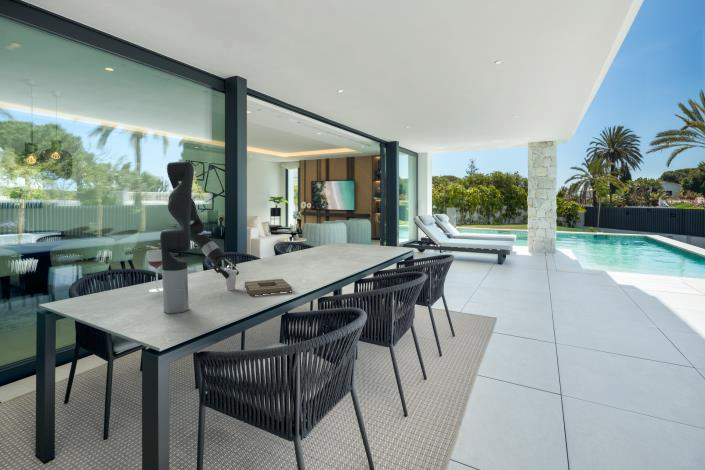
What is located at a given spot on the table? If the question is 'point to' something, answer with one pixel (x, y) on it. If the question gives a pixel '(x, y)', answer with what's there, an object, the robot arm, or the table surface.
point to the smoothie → (231, 279)
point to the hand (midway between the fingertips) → (233, 275)
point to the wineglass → (155, 264)
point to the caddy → (267, 287)
